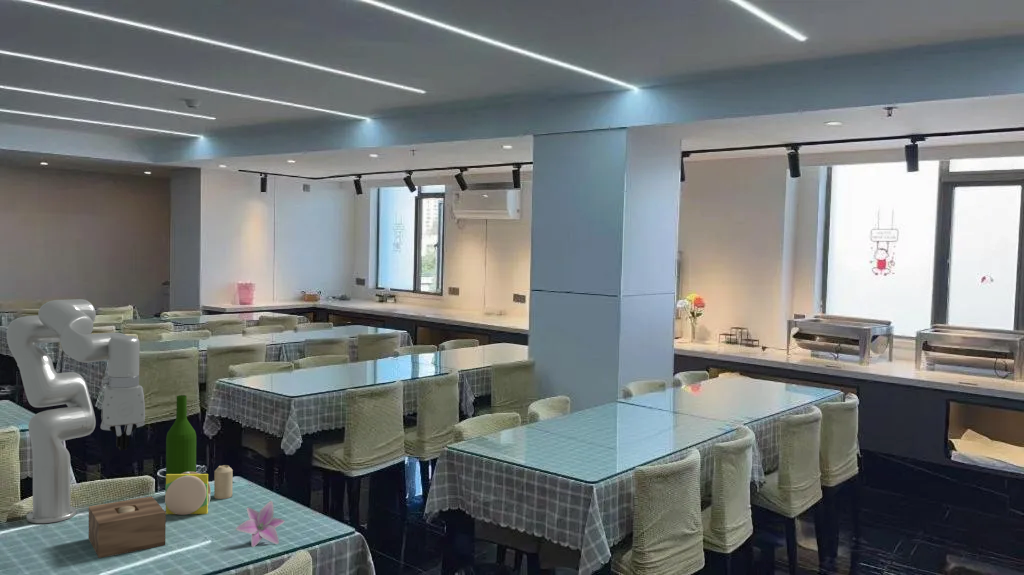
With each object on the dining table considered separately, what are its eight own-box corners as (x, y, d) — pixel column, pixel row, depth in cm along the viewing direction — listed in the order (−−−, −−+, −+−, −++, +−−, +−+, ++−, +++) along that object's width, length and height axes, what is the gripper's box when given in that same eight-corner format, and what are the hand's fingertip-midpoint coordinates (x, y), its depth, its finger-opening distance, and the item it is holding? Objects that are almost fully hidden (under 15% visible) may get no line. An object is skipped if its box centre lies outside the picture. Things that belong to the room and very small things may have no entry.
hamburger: (212, 507, 237) (213, 469, 236) (204, 516, 228) (205, 476, 228) (172, 507, 236) (172, 469, 235) (163, 516, 227) (163, 477, 227)
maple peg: (117, 533, 208) (117, 507, 207) (133, 530, 210) (133, 505, 210) (119, 537, 204) (119, 512, 204) (135, 534, 207) (136, 509, 206)
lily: (228, 549, 206) (235, 524, 202) (243, 519, 217) (250, 494, 213) (271, 562, 208) (279, 537, 204) (284, 531, 219) (292, 506, 215)
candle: (226, 499, 244) (226, 469, 243) (210, 498, 245) (210, 467, 244) (235, 494, 249) (236, 464, 249) (220, 493, 250) (220, 463, 250)
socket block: (88, 538, 209) (88, 506, 208) (151, 527, 218) (152, 496, 218) (98, 558, 196) (98, 523, 196) (165, 545, 206) (165, 512, 205)
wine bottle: (202, 494, 249) (202, 395, 248) (179, 501, 241) (180, 399, 239) (182, 489, 253) (182, 392, 251) (159, 497, 245) (160, 396, 243)
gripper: (94, 386, 198) (93, 456, 199) (156, 382, 207) (155, 448, 208) (89, 381, 204) (89, 449, 205) (150, 377, 213) (149, 442, 214)
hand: (122, 449), depth 207 cm, fingers closed
